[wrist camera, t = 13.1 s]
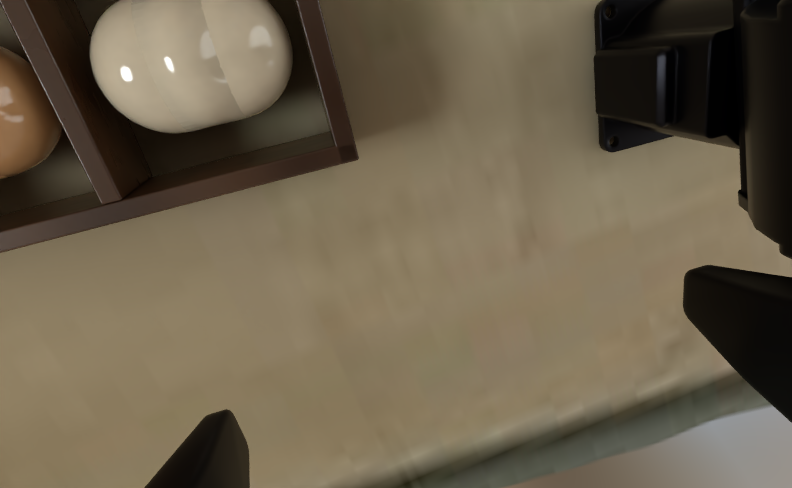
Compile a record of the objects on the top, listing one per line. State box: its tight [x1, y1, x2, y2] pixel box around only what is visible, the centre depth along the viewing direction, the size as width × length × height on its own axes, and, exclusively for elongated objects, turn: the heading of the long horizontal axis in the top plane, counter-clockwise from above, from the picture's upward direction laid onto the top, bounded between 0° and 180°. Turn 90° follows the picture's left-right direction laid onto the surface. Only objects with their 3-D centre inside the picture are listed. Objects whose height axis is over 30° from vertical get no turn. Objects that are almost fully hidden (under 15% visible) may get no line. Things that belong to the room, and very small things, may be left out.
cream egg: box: [89, 0, 293, 133], centre depth 16 cm, size 6×4×4 cm
